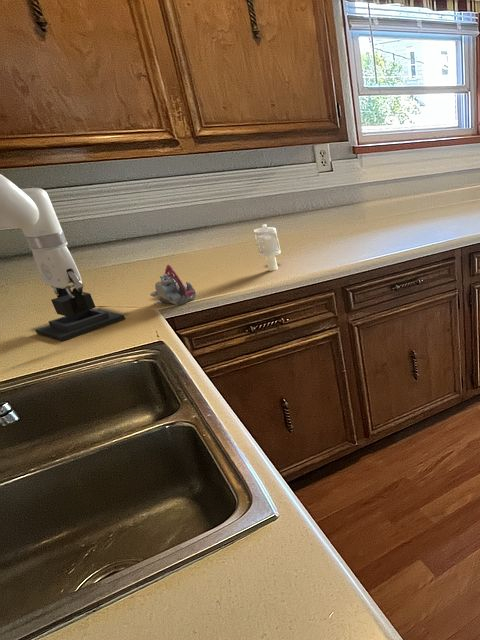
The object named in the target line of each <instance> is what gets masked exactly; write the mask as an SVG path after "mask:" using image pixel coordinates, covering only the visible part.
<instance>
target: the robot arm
mask: <svg viewBox="0 0 480 640" xmlns="http://www.w3.org/2000/svg"><path fill="white" fill-rule="evenodd" d="M60 223H61V222H60V221H59V219H58V216H57V213H56V212H55V208H54V206H53V204H52V201H51V199H50V196H49V195H48V192H47V191H46V190H44V189H43V188H40V187H28V188H27V187H26V188H19V187H18V186H17V185H16V184H15V183H14V182H13V181H11V180H10V179H9V178H7V177H5V176H4V175H3V174H1V173H0V229H21V231H22V234H23V235H24V238H25V240H26V242H27V245H28V247H29V249H30V251H31V252H32V253H31V254H32V256H33V259H34V262H35V265H36V268H37V271H38V273H39V276H40V279H41V280H42V283H43V284H44V285H46V286H49V287H51V288H53V292H54V294H55V295H56V298H58V297H62V296H65V295H68V294H69V296H70V297H71V298H69V300H70V302H71V304H72V307H73V309H74V311H75V312H76V313H79V312H82V311H85V310H88V309H89V307H88V305H87V302H86V300H85V297H84V293H83V292H84V284H83V282H82V281H83V279H82V276H81V273H80V271H79V268H78V267H77V264H76V262H75V260H74V257H73V256H72V254H71V252H70V250H69V249H68V247H67V246H68V245H69V243H68V241H67V238H66V236H65V233H64V230H63V229H62V226H61V224H60ZM71 283H72V284H71ZM69 284H70V285H69ZM71 288H72V289H71Z"/></svg>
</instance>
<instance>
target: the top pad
mask: <svg viewBox="0 0 480 640" xmlns="http://www.w3.org/2000/svg"><path fill="white" fill-rule="evenodd" d="M83 293H84V297H85V300H86V302H87V305H88V307H89V309H88V310H90V309H97V308H96V305H95V302H94V300H93V297H92V294H91V293H89V292H85V291H83ZM69 298H71V297H70V296H69V294H68V295H65V296H62V297H58V298H57V297H55V298H52V299H50V301H51V303H52V306H53V308H54V310H55V312H56V315H59V316H62V317H64V316H67V317H69V316H72V315H75V314H78V313H76V312H75V311H74V309H73V307H72V304H71V302H70V300H69ZM85 311H87V310H85ZM82 312H84V311H82ZM79 313H81V312H79Z"/></svg>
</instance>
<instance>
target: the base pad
mask: <svg viewBox="0 0 480 640" xmlns="http://www.w3.org/2000/svg"><path fill="white" fill-rule="evenodd" d="M124 320H126V316H125V314H122V313H118V312H113V311H110V310H106V309H101V308H93V309H90V310H87V311H84V312H81V313H78V314H75V315H72V316H69V317H67V316H62V317H59V318H55V319H52V320H48V325H45V326H41V327H39V328H36V329H34V330H35V333H36V334H37V335H39V336H43V337H46V338H49V339H52V340H56V341H59V342H65V341H67V340H71V339H73V338H76V337H79V336H82V335H85V334H87V333H90V332H93V331H95V330H99V329H102V328H104V327H107V326H110V325H112V324H116V323H119V322H121V321H124Z"/></svg>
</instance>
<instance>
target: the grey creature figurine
mask: <svg viewBox="0 0 480 640" xmlns="http://www.w3.org/2000/svg"><path fill="white" fill-rule="evenodd" d="M164 271H165V272H164V274H163V275H160V276H159V278H160V281H157V282H156V283H155V285H154V288H155V291H152V292H151V293H150V294H149V295H150V297H153V298H156V299H157V301H155V302H154V303H153V305H157V304H158V305H159V304H161V303H164V304H171V305H174V306H182V305H184V304H186V303H188V302H191V301H194V300H195V298H196V296H197V292H196V289H195V288H194V286H193V285H192V283H191V282H190V281H186V282H185V283H186V285H185V283H184V282H183V281H182V280H181V278H180V276H178V274H177V272H175V270H174V269H173V267H172V266H171V265H170V264H167V265H166V267H165V270H164Z"/></svg>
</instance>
